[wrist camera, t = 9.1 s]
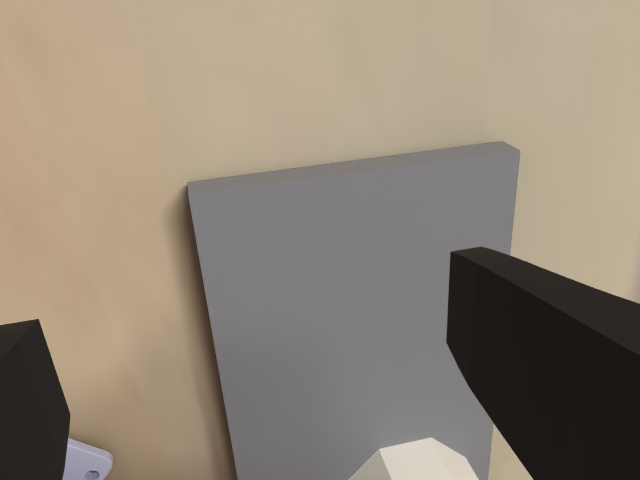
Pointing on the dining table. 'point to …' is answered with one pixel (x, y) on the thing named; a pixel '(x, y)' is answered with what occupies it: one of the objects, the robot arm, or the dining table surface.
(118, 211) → the dining table surface
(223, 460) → the dining table surface
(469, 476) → the cream ring
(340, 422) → the gray board
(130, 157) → the dining table surface
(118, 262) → the dining table surface
